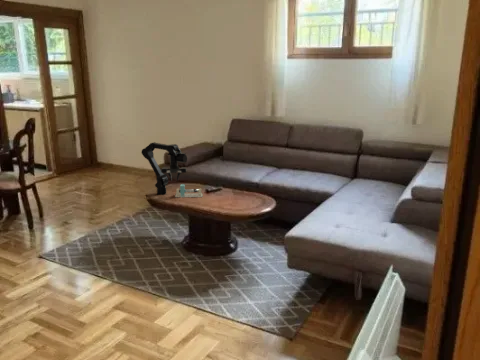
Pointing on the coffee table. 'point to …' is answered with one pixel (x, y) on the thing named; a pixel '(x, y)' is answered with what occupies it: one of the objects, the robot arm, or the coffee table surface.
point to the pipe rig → (189, 193)
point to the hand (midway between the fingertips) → (174, 180)
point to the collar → (182, 189)
